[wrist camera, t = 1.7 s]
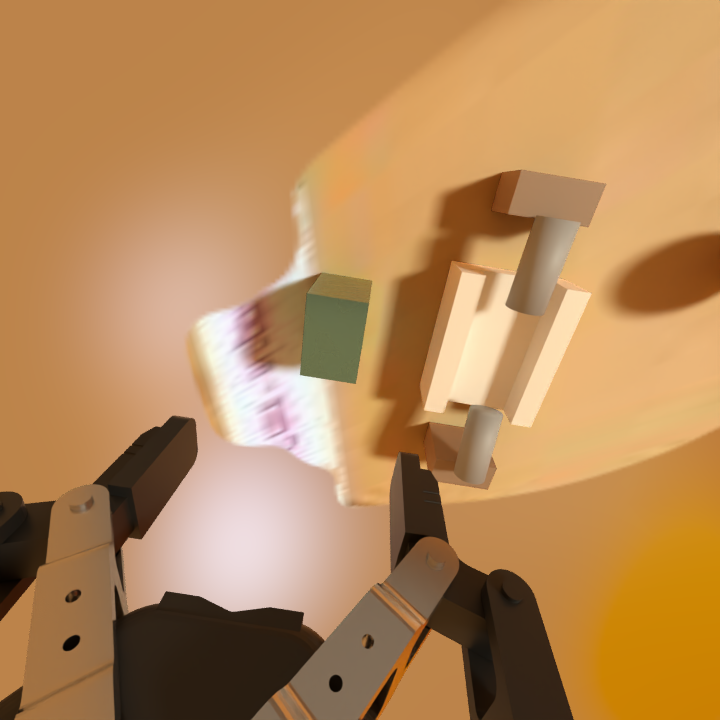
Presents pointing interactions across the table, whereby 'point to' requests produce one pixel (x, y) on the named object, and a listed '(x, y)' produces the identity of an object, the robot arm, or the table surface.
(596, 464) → the table surface
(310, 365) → the green rectangular block
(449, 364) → the shaft rig
